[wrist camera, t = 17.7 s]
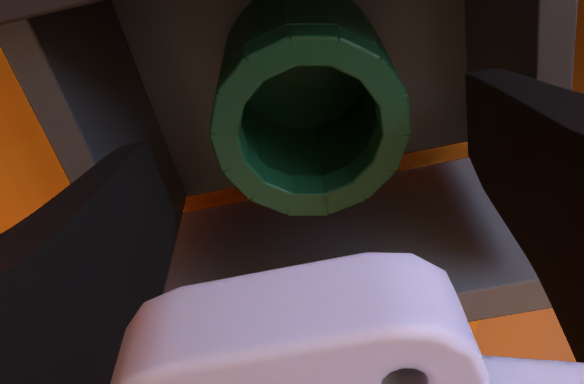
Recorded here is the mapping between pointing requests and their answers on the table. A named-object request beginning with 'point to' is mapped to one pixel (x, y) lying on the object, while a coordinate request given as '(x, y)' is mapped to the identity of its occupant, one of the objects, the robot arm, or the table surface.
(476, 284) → the dish drawer
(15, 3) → the drawer cabinet
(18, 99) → the table surface
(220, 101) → the jar
